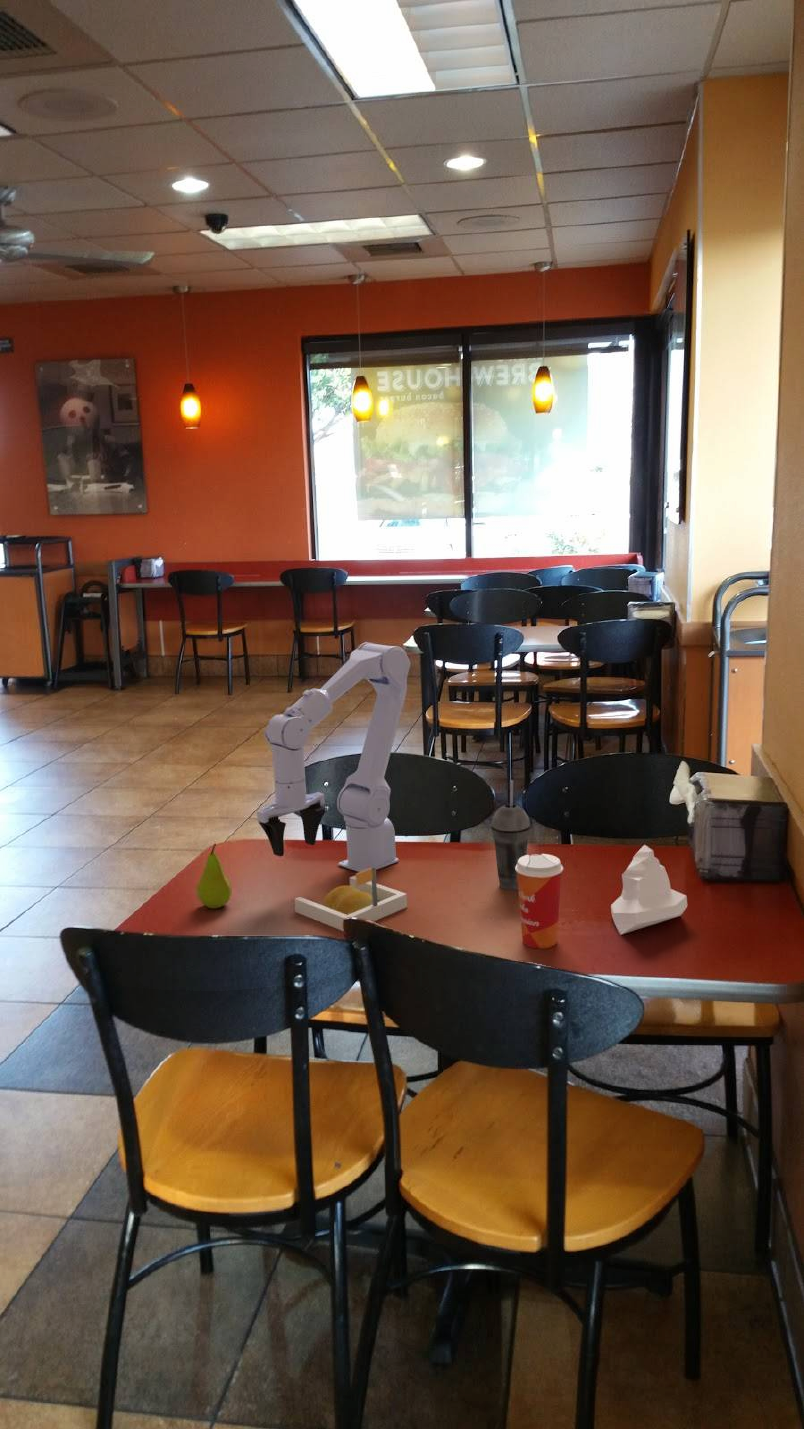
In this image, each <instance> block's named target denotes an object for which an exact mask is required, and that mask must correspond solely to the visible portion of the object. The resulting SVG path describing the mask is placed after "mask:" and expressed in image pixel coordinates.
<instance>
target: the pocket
mask: <svg viewBox="0 0 804 1429" xmlns="http://www.w3.org/2000/svg"><path fill="white" fill-rule="evenodd" d="M349 886H352V887H354V888H356V889H358V890H360V891H363V892H367V893H369V894H370V895H371V896H372V898H373V905H370V906H368V907H365V908H363V909H361V910H358V911H356V912H353V913H351V914H349V915H346V914H343V913H341V912H338V911H335V910H333V909H330V908H328V907H325V906H324V905H323V904H320V903H317V902H315V901H311V900H309V899H307V898H305V897H301V896H299V897H296V898H294V906H295V907H294V909H295V913H298V914H300V915H302V916H304V917H307V918H309V919H312V920H315V921H317V922H319V921H320V922H319V923H322V924H325V925H326V926H330V927H332V928H334V929H337V930H339V931H342V932H344V931H343V928H342V923H343V919H345V918H347V917H360V918H364V919H368V920H374V922H376V921H378V920H380V919H383V918H385V917H387V916H389V915H392V914H395V913H397V912H399V911H401V910H404V909H406V908H408V896H407V895H408V894H407V893H405V892H403V891H399V890H397V889H394V888H391V887H387V886H385V885H382V884H380V883H377V871H376V867H374V866H373V867H371V868H369V869H367V870H364V871H361V872H357V873H355V875H353V876H351V877H349Z"/></svg>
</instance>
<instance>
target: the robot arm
mask: <svg viewBox="0 0 804 1429" xmlns="http://www.w3.org/2000/svg"><path fill="white" fill-rule="evenodd" d="M411 664H412V662H411V661H410V658H409V657H408V655H407V653H406V651H405V649H403V648H402V647H400V646H397V645H396V646H395V645H394V646H392V645H385V644H384V645H383V644H377V643H373V642H370V641H369V642H368V641H365V642H363V643H361V644H360V645H358V646H357V648H356V649H354V650H353V651H351V653H350V656H349V659H348V660H347V661H346V662H345V663H344V664H343V665H342V666H341V667H340V668H339V669H338V670H337V672H336V673H335V674H334V675H332V677H330V679H329V680H327V682H326V683H324V685H322V687H320V688H319V689H318V688H311V689H306V690H304V691H303V692H302V697H301V698H299V699H298V700H297V701H295V703H294V704H292V705H291V706H290V707H289V706H288V707H286V708H285V712H283V714H280V713H279V714H275V715H274V716H272V718H270V720H269V721H268V722H267V725H266V727H265V731H263V736H264V738H265V740H266V742H267V743H268V744H269V746H270V752H271V753H272V767H273V768H272V770H273V782H274V795H275V799H274V802H273V803H272V804H270V805H267V806H266V807H264V808H261V809H260V810H259V809H258V810H257V811H256V814H257V815H256V816H257V821H258V824H259V825H260V827H261V828H262V829H263V832H264V834H266V837H267V840H268V841H269V843H270V846H271V850H272V851H273V852H272V853H273V855H274V856H277V857H283V856H284V854H285V846H284V845H285V844H284V842H285V841H284V839H285V838H284V837H285V831H286V830H285V829H286V825H287V823H286V822H284V821H281V819H280V817H283V816H286V815H289V814H293V813H296V812H299V814H300V817H301V821H302V822H301V823H302V828H303V838H304V842H305V844H307V845H310V846H314V845H315V844H316V840H317V835H318V830H319V827H320V824H321V821H322V819H323V817H324V815H325V814H326V807H325V806H322V805H325V804H326V802H325V801H326V800H325V794H324V793H322V792H318V791H317V792H314V793H313V792H312V793H309V794H307V784H306V771H305V770H306V768H305V754H304V753H305V752H304V746H306V744H307V743H308V741H309V738H310V734H311V733H312V732H313V729H315V728H316V726H318V725H319V724H320V723H321V722H322V721H324V719H326V717H327V716H329V715H330V714H331V713H332V711H333V708H334V707H333V703H334V702H335V701H337V700H338V699H340V697H342V696H343V695H344V694H345V693H347V692H348V691H349V690H351V689H352V688H353V687H354V686H355V685H357V684H359V682H361V681H362V680H367V681H368V683H370V684H371V686H372V687H373V689H374V690H375V692H376V695H377V696H376V698H375V699H376V700H375V702H374V706H373V710H372V714H371V717H370V721H369V725H368V728H367V731H366V736H365V740H364V743H363V747H362V751H361V755H360V759H359V761H358V767H357V769H356V771H355V772H354V773H352V774H351V775H349V776H347V777H346V778H345V779H346V781H345V782H344V786H343V788H341V790H340V792H339V793H338V795H337V800H336V807H337V811H338V812H339V813H340V814H341V815H342V816H343V821H344V822H345V833H346V836H345V837H346V852H347V859H346V860H345V859H344V860H343V861H340V862H338V866H340V867H343V868H346V869H348V870H352V871H355V872H357V873H359V872H361V871H364V870H367V869H369V868H371V867H373V866H374V867H376V870H379V869H383V868H385V867H387V866H390V865H392V864H395V863H398V862H399V861H400V860H399V858H398V857H397V856H396V855H397V853H396V831H395V828H394V827H395V826H394V824H393V823H392V820H390V819H389V818H388V816H389V813H390V808H391V807H390V806H391V803H390V796H391V791H392V790H391V788H390V785H388V783H387V782H388V781H386V779H385V776H386V771H387V768H388V763H389V760H390V757H391V752H392V748H393V745H394V743H395V742H394V741H395V739H396V738H395V737H396V734H397V730H398V726H399V723H400V719H401V716H402V711H403V708H404V704H405V700H406V696H407V693H408V685H407V684H408V682H407V680H408V675H409V670H410V669H411V668H410V666H411ZM366 788H367V789H366Z"/></svg>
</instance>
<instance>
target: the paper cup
mask: <svg viewBox="0 0 804 1429" xmlns="http://www.w3.org/2000/svg"><path fill="white" fill-rule="evenodd" d="M515 870H516V871H517V875H518V888H519V889H518V900H519V902H518V903H519V913H520V924H521V925H520V926H521V928H520V929H521V936H522V943H523V945H525V946H527V947H529V948H531V949H539V950H540V949H541V950H544V949H549V948H552V946H553V947H554V946H557V945H556V944H557V943H558V934H559V919H560V916H559V915H560V903H561V902H560V901H561V882H562V881H561V880H562V872H563V871H564V867H563V864H561V860H560V858H558V857H557V856H556V855H555V856H554V855H552V854H547V853H541V854H539V853H537V854H536V853H535V854H534V853H533V854H531V855H529V854H527V855H525V856H522V857H521V858H519V860H518V863H517V865H516V867H515Z"/></svg>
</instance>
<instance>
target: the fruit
mask: <svg viewBox="0 0 804 1429" xmlns="http://www.w3.org/2000/svg"><path fill="white" fill-rule="evenodd" d="M216 845H217V843H214V844H213V847H212V849H211V852H210V853H209V855H208V857H207V860H206V863H205V866H204V869H203V872H202V874H201V877H200V879H199V882H198V884H197V886H196V895H197V898H198V899H199V901H200V902H201V903H202V904H203V905H204V906H206V907H207V908H209V909H218V908H221V907H223V906H224V905H225V904H228V902H229V900H230V899H231V897H232V885H231V883H230V881H229V879H228V878H227V876H226V875H225V872H224V869H223V865H222V862H221V861H220V859H219V857H218V855H217V854H216V853H215V847H216Z"/></svg>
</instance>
